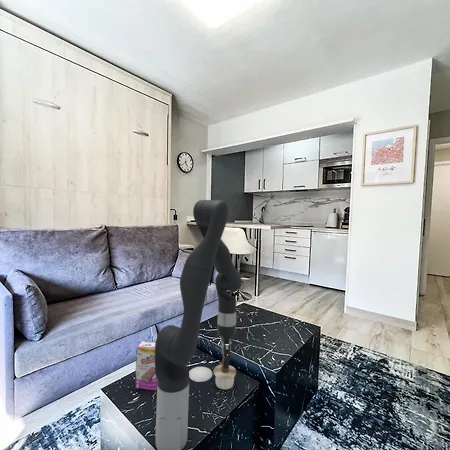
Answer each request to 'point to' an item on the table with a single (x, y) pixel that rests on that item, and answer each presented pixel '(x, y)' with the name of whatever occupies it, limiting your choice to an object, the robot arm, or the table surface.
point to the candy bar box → (145, 367)
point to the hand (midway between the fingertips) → (225, 362)
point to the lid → (224, 372)
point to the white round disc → (200, 374)
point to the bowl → (224, 383)
